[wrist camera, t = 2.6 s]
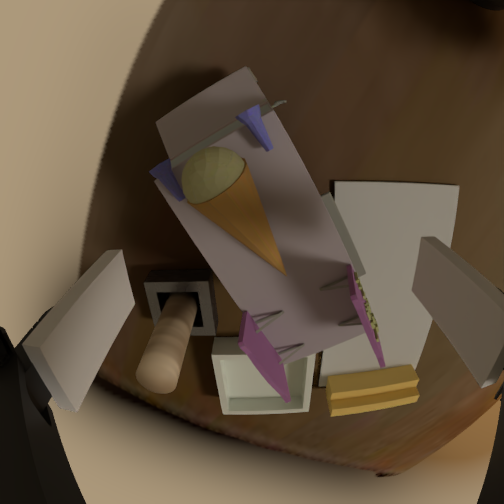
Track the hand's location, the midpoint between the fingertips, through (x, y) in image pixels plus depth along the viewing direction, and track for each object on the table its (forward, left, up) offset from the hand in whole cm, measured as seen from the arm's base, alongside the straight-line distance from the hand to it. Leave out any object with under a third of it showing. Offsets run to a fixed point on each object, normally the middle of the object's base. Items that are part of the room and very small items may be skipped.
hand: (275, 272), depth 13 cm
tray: (+22, -1, -16) cm, 27 cm away
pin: (+11, -9, -16) cm, 21 cm away
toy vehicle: (0, 0, -16) cm, 16 cm away
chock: (+25, +13, -15) cm, 32 cm away
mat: (+12, +13, -16) cm, 24 cm away
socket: (+11, -9, -16) cm, 21 cm away
